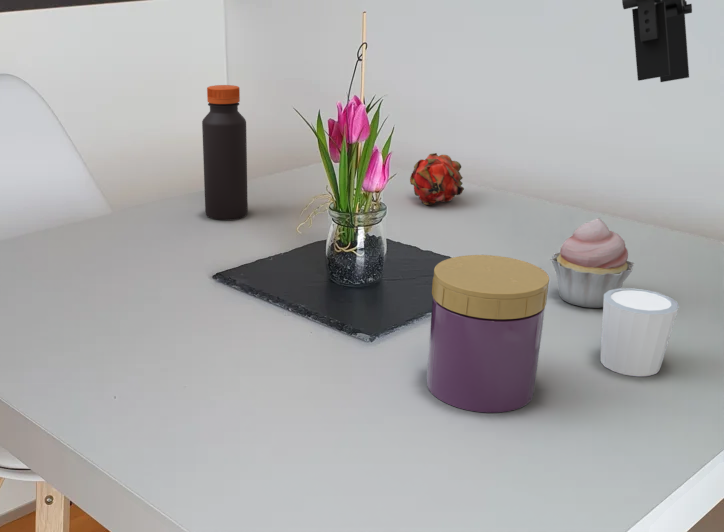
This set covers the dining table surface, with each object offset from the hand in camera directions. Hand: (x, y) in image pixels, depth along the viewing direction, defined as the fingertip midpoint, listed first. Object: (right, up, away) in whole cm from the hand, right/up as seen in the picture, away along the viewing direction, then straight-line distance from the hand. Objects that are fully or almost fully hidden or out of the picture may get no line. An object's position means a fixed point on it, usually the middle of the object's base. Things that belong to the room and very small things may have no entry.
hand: (665, 79), depth 84 cm
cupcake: (-2, -22, +17) cm, 28 cm away
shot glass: (-3, -29, +1) cm, 29 cm away
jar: (-19, -30, -4) cm, 36 cm away
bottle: (-47, -9, +50) cm, 69 cm away
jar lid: (-19, -20, -8) cm, 29 cm away
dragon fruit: (-12, -6, +57) cm, 59 cm away
